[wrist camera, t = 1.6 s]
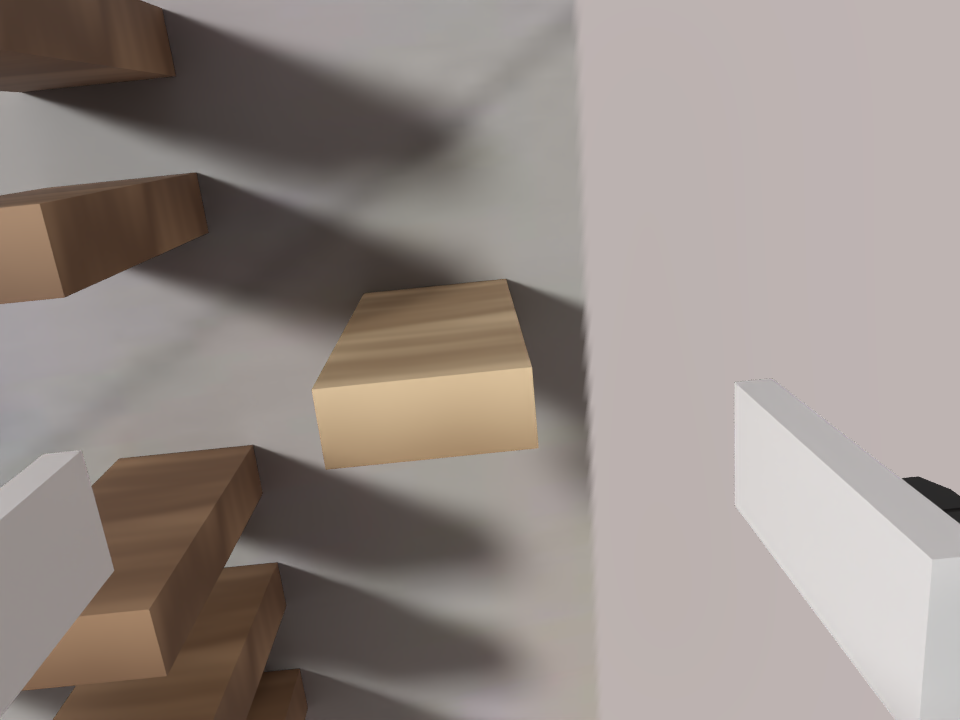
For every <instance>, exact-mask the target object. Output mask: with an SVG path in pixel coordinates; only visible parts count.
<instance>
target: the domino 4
mask: <svg viewBox="0 0 960 720" xmlns="http://www.w3.org/2000/svg"><path fill="white" fill-rule="evenodd" d="M285 608H286V602H285V597H284V592H283V587H282V582H281V577H280V573H279V568H278V563H267V564H257V565H247V566H237V567H228V568H223V570H222V572H221V574H220V576H219V578H218V580H217V582H216V583H215V585H214V587H213V589H212V591H211V593H210V595H209V597H208V599H207V601H206V603H205V604H204V606H203V608H202V610H201V612H200V614H199V616H198V618H197V620H196V622H195V624H194V625H193V627H192V629H191V631H190V633H189V635H188V637H187V639H186V641H185V643H184V645H183V647H182V648H181V650H180V652H179V654H178V656H177V658H176V660H175V662H174V664H173V666H172V668H171V669H170V671H169V673H168V675H167V676H164V677H154V678H144V679H134V680H124V681H114V682H104V683H94V684H84V685H76V686H75V688H74V689H73V691H72V692H71V694H70V695H69V697H68V698H67V700H66V701H65V703H64V704H63V706H62V707H61V708H60V710H59V711H58V713H57V714H56V716H55V717H54V719H53V720H246V719H247V716H248V713H249V710H250V707H251V705H252V702H253V699H254V696H255V693H256V690H257V688H258V685H259V682H260V679H261V676H262V673H263V671H264V668H265V665H266V662H267V659H268V656H269V654H270V651H271V648H272V645H273V642H274V639H275V637H276V634H277V631H278V628H279V625H280V623H281V620H282V617H283V614H284V611H285Z"/></svg>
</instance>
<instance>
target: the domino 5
mask: <svg viewBox="0 0 960 720" xmlns="http://www.w3.org/2000/svg"><path fill="white" fill-rule="evenodd" d="M307 709H308V707H307V702H306V697H305V692H304V687H303V682H302V677H301V672H300V669H291V670H281V671H271V672H263V673H262V676H261V679H260V682H259V685H258V688H257V690H256V693H255V696H254V699H253V702H252V705H251V707H250V710H249V713H248V716H247V719H246V720H305V717H306V713H307Z"/></svg>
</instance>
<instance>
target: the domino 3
mask: <svg viewBox="0 0 960 720" xmlns="http://www.w3.org/2000/svg"><path fill="white" fill-rule="evenodd" d="M92 490H93V493H94V497H95V501H96V505H97V508H98V512H99V516H100V519H101V523H102V527H103V531H104V534H105V538H106V542H107V545H108V549H109V553H110V556H111V560H112V564H113V568H114V572H113V573H112V574H111V575H110V577H109V578H108V579H107V581H106V582H105V583H104V584H103V586H102V587H101V588H100V590H99V591H98V592H97V594H96V595H95V596H94V597H93V599H92V600H91V601H90V603H89V604H88V605H87V606H86V608H85V609H84V610H83V612H82V613H81V614H80V615H79V617H78V618H77V619H76V621H75V622H74V623H73V625H72V626H71V627H70V628H69V630H68V631H67V632H66V634H65V635H64V636H63V637H62V639H61V640H60V641H59V643H58V644H57V645H56V647H55V648H54V649H53V650H52V652H51V653H50V654H49V656H48V657H47V658H46V659H45V661H44V662H43V663H42V665H41V666H40V667H39V668H38V670H37V671H36V672H35V674H34V675H33V676H32V678H31V679H30V680H29V681H28V683H27V684H26V685H25V687H24V688H23V689H22V690H21V691H24V690H34V689H44V688H54V687H64V686H74V685H84V684H94V683H104V682H114V681H124V680H134V679H144V678H154V677H164V676H167V675H168V673H169V671H170V669H171V668H172V666H173V664H174V662H175V660H176V658H177V656H178V654H179V652H180V650H181V648H182V647H183V645H184V643H185V641H186V639H187V637H188V635H189V633H190V631H191V629H192V627H193V625H194V624H195V622H196V620H197V618H198V616H199V614H200V612H201V610H202V608H203V606H204V604H205V603H206V601H207V599H208V597H209V595H210V593H211V591H212V589H213V587H214V585H215V583H216V582H217V580H218V578H219V576H220V574H221V572H222V570H223V568H224V566H225V564H226V562H227V561H228V559H229V557H230V555H231V553H232V551H233V549H234V547H235V545H236V543H237V541H238V539H239V538H240V536H241V534H242V532H243V530H244V528H245V526H246V524H247V522H248V520H249V518H250V517H251V515H252V513H253V511H254V509H255V507H256V505H257V503H258V501H259V499H260V497H261V496H262V494H263V492H262V488H261V483H260V478H259V473H258V468H257V463H256V458H255V453H254V448H253V445H248V446H238V447H229V448H219V449H209V450H199V451H189V452H179V453H170V454H160V455H150V456H140V457H130V458H120V459H118V460H117V461H116V462H115V463H114V464H113V465H112V466H111V467H110V468H109V469H108V470H107V471H106V472H105V473H104V474H103V475H102V476H101V477H100V478H99V479H98V480H97V481H96V482H95V483H94V484H93V485H92Z"/></svg>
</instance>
